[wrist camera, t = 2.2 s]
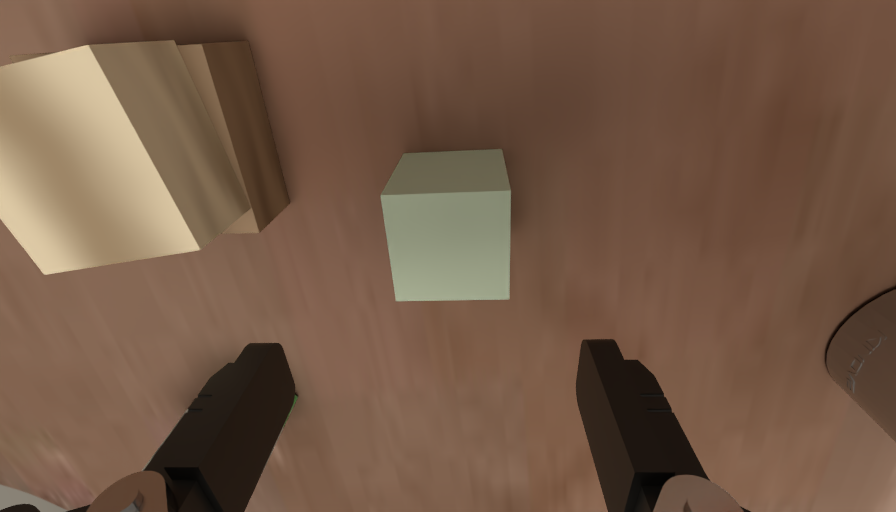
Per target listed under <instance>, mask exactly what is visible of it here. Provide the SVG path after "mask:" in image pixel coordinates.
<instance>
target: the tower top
mask: <svg viewBox="0 0 896 512" xmlns="http://www.w3.org/2000/svg"><path fill="white" fill-rule="evenodd" d="M250 209H251V208H250V205H249V203H248V201H247V199H246V197H245V194H244V192H243V190H242V188H241V186H240V184H239V181H238V179H237V177H236V175H235V173H234V170H233V168H232V166H231V164H230V162H229V159H228V157H227V155H226V153H225V151H224V149H223V146H222V144H221V142H220V140H219V138H218V135H217V133H216V131H215V129H214V127H213V124H212V122H211V120H210V118H209V116H208V113H207V111H206V109H205V107H204V105H203V103H202V100H201V98H200V96H199V94H198V92H197V89H196V87H195V85H194V83H193V81H192V78H191V76H190V74H189V72H188V70H187V68H186V65H185V63H184V61H183V59H182V57H181V54H180V52H179V50H178V48H177V46H176V43H175V41H174V40H167V41H148V42H130V43H112V44H94V45H85V46H81V47H77V48H73V49H69V50H65V51H61V52H57V53H53V54H49V55H45V56H41V57H37V58H33V59H29V60H25V61H21V62H17V63H13V64H9V65H5V66H1V67H0V219H1V220H2V221H3V222H4V224H5V225H6V226H7V228H8V229H9V230H10V231H11V233H12V234H13V235H14V236H15V238H16V239H17V240H18V242H19V243H20V244H21V245H22V247H23V248H24V249H25V251H26V252H27V253H28V254H29V256H30V257H31V258H32V260H33V261H34V262H35V263H36V265H37V266H38V267H39V269H40V270H41V271H42V272H43V274H44V275H46V274H53V273H59V272H65V271H71V270H78V269H84V268H90V267H96V266H103V265H109V264H115V263H122V262H128V261H134V260H140V259H147V258H153V257H159V256H166V255H172V254H178V253H184V252H191V251H197V250H201V249H202V248H204V247H205V246H206V245H207V244H208V243H210V242H211V241H212V240H213V239H214V238H216V237H217V236H218V235H219V234H221V233H222V232H223V231H224V230H225V229H227V228H228V227H229V226H230V225H231V224H233V223H234V222H235V221H236V220H237V219H239V218H240V217H241V216H242V215H244V214H245V213H246V212H247V211H248V210H250Z"/></svg>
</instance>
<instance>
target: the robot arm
mask: <svg viewBox="0 0 896 512" xmlns="http://www.w3.org/2000/svg"><path fill="white" fill-rule="evenodd" d="M826 365H827V368H828V371H829V374H830V375H831V377H832V378H833V379H834V380H835V382H836V383H837V384H838V385H839V386H840V387H841V388H842V389H843V390H844V391H845V392H846V393H847V394H848V395H849V396H850V397H851V398H852V399H853V400H854V401H855V402H856V403H857V404H858V405H859V406H860V407H861V408H862V409H863V410H864V411H865V412H866V413H867V414H868V415H869V416H870V417H871V418H872V419H873V420H874V421H875V422H876V423H877V424H878V425H879V426H880V427H881V428H882V429H883V430H884V431H885V432H886V433H887V434H888V435H889V436H890V437H891V438H892V439H893V440H894V441H895V442H896V289H895V290H893V291H891V292H888V293H886V294H884V295H882V296H880V297H879V298H877V299H875V300H874V301H872V302H870V303H868V304H867V305H865V306H864V307H863V308H862V309H860V310H859V311H858V312H856V313H855V314H854V315H852V316H851V317H850V318H849V319H848V320H847V321H846V322H845V324H844V325H843V326H842V327H841V328H840V329H839V330H838V332H837V333H836V335H835V336H834V338H833V339H832V341H831V343H830V346H829V349H828V352H827V361H826ZM576 395H577V402H578V407H579V410H580V414H581V417H582V421H583V425H584V428H585V432H586V435H587V439H588V442H589V446H590V449H591V453H592V456H593V460H594V463H595V467H596V470H597V474H598V477H599V481H600V484H601V488H602V492H603V495H604V499H605V502H606V506H607V509H608V512H750V511H748V510H746V509H744V508H742V507H741V506H740V505H739V504H738V503H737V502H736V500H735V499H734V498H733V497H732V496H731V495H730V494H729V493H728V492H726V491H725V490H724V489H722V488H721V487H720V486H718V485H717V484H715V483H713V482H711V481H710V480H709V478H708V477H707V475H706V473H705V472H704V470H703V468H702V466H701V464H700V462H699V460H698V458H697V457H696V455H695V453H694V451H693V449H692V447H691V445H690V443H689V441H688V439H687V437H686V435H685V434H684V432H683V430H682V428H681V426H680V424H679V422H678V420H677V418H676V416H675V414H674V413H672V409H671V407H670V405H669V403H668V401H667V399H666V397H664V393H663V391H662V389H661V388H660V386H659V384H658V382H657V380H656V378H655V376H654V375H653V374H652V373H651V372H650V371H649V370H648V369H647V368H646V367H645V366H644V365H642V364H641V363H640V362H639V361H638V360H624V358H623V356H622V354H621V352H620V350H619V347H618V345H617V343H616V342H615V340H613V339H593V340H583V341H582V344H581V350H580V357H579V365H578V372H577V379H576ZM294 398H295V384H294V380H293V377H292V374H291V371H290V368H289V365H288V362H287V359H286V356H285V353H284V350H283V348H282V346H281V345H280V344H279V343H251V344H248V345H247V346H246V347H245V348H244V350H243V351H242V353H241V354H240V356H239V357H238V358H237V360H236V361H235V363H228V364H227V365H225V366H224V367H223V368H222V369H221V370H219V371H218V372H217V373H216V374H214V375H213V376H212V377H211V378H210V379H209V380H208V382H207V383H206V385H205V386H204V387H203V389H202V390H201V392H200V393H199V394H198V398H195V400H194V401H193V403H192V404H191V405H190V407H189V408H188V412H187V413H185V414H184V415H183V416H182V418H181V419H180V421H179V422H178V423H177V425H176V426H175V428H174V429H173V430H172V432H171V433H170V434H169V436H168V437H167V439H166V440H165V441H164V443H163V444H162V446H161V447H160V448H159V450H158V451H157V452H156V454H155V455H154V457H153V458H152V459H151V461H150V462H149V464H148V465H147V466H146V468H145V469H144V470H143V471H141V472H137V473H133V474H131V475H128V476H126V477H124V478H122V479H120V480H118V481H117V482H115V483H114V484H112V485H111V486H109V487H108V488H107V489H106V490H104V491H103V492H102V493H101V494H100V495H99V496H98V497H97V498H96V499H95V500H94V501H93V503H92V504H91V505H88V506H84V507H81V508H77V509H74V510H70V511H67V512H244V511H245V509H246V507H247V504H248V502H249V500H250V498H251V496H252V494H253V491H254V489H255V487H256V485H257V483H258V480H259V478H260V476H261V474H262V472H263V469H264V467H265V465H266V463H267V461H268V459H269V456H270V454H271V452H272V450H273V448H274V445H275V443H276V441H277V439H278V437H279V434H280V432H281V430H282V428H283V426H284V423H285V421H286V419H287V417H288V415H289V413H290V410H291V408H292V406H293V403H294ZM0 512H40V511H39V510H38V509H37V508H36V507H35V506H33V505H30V504H20V505H15V506H11V507H8V508H5V509H3V510H0Z"/></svg>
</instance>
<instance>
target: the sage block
mask: <svg viewBox="0 0 896 512" xmlns="http://www.w3.org/2000/svg"><path fill="white" fill-rule="evenodd" d="M380 196H381V202H382V209H383V216H384V223H385V230H386V236H387V243H388V250H389V257H390V263H391V270H392V277H393V284H394V290H395V297H396V301H440V300H503V299H509V286H510V221H511V188H510V184H509V179H508V175H507V170H506V165H505V161H504V156H503V152H502V149H489V150H466V151H443V152H421V153H403V155H402V157H401V159H400V161H399V163H398V164H397V166H396V168H395V170H394V172H393V173H392V175H391V177H390V179H389V181H388V182H387V184H386V186H385V188H384V190H383V192H382V193H381V195H380Z"/></svg>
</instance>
